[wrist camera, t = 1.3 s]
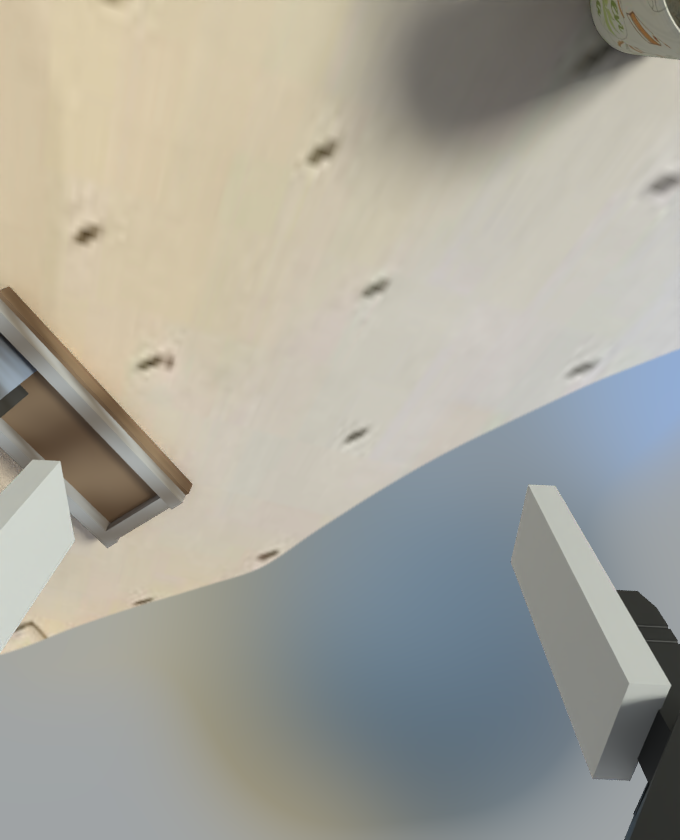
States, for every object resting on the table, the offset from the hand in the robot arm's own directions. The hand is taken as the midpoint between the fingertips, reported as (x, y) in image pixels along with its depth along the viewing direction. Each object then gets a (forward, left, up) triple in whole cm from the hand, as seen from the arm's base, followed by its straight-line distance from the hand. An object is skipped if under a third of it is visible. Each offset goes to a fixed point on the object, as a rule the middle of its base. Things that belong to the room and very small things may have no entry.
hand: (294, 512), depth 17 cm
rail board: (-3, -20, -23) cm, 31 cm away
